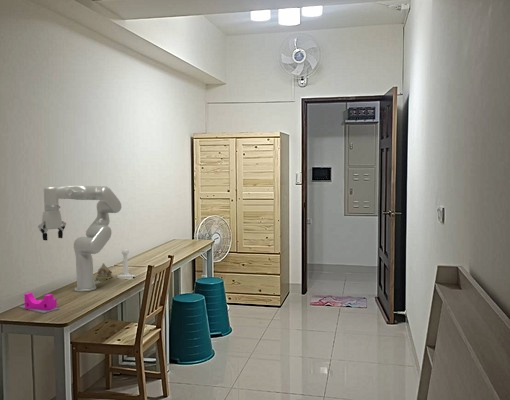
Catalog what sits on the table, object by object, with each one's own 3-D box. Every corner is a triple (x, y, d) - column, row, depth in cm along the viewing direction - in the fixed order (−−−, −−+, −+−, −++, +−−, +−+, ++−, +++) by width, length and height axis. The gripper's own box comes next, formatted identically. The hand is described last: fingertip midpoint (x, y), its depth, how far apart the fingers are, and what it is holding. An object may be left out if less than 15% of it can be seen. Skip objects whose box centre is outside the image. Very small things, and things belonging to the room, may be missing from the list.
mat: (34, 303, 297) (34, 302, 297) (59, 309, 284) (59, 308, 284) (18, 307, 289) (18, 306, 289) (43, 313, 277) (43, 312, 277)
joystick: (116, 279, 356) (115, 248, 354) (120, 277, 363) (119, 247, 362) (133, 279, 355) (132, 248, 353) (136, 277, 362) (136, 247, 361)
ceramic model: (96, 276, 366) (96, 261, 365) (114, 276, 367) (113, 261, 367) (93, 281, 352) (92, 265, 351) (111, 280, 353) (110, 265, 353)
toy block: (56, 307, 286) (56, 293, 286) (48, 310, 280) (48, 296, 280) (33, 305, 291) (32, 291, 290) (24, 308, 285) (24, 294, 284)
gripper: (60, 207, 315) (62, 236, 316) (33, 209, 301) (35, 240, 302) (69, 207, 311) (70, 237, 312) (41, 210, 297) (43, 241, 298)
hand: (52, 239), depth 307 cm, fingers open, 9 cm apart
